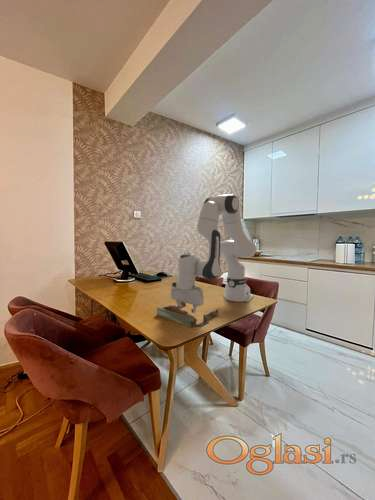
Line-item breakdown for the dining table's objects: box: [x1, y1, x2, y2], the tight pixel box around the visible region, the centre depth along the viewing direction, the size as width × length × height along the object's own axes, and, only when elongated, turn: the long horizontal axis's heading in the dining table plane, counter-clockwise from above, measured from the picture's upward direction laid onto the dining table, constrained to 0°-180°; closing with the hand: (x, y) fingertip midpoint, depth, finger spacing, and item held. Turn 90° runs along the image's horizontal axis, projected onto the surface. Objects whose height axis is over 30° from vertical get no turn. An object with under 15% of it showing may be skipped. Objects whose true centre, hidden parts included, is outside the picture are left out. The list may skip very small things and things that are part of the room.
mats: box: [172, 305, 210, 328], centre depth 117 cm, size 8×33×1 cm, turn 36°
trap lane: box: [156, 302, 219, 329], centre depth 117 cm, size 22×24×4 cm
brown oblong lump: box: [167, 307, 199, 322], centre depth 114 cm, size 18×7×7 cm
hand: (186, 310), depth 116 cm, fingers open, 8 cm apart
